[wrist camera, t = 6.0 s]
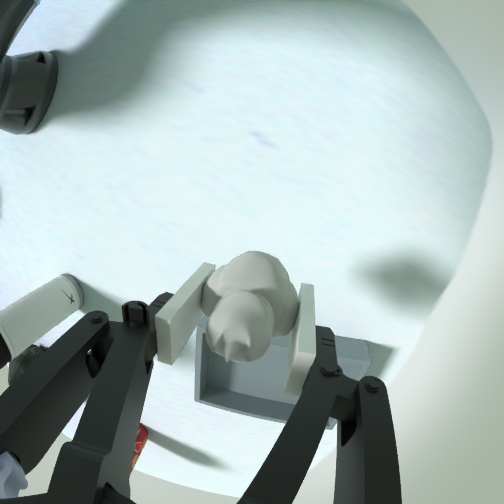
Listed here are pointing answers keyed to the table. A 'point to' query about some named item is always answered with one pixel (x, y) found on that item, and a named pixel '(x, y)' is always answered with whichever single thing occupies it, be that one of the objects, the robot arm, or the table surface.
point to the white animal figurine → (248, 306)
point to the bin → (263, 377)
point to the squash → (23, 362)
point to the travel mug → (37, 315)
